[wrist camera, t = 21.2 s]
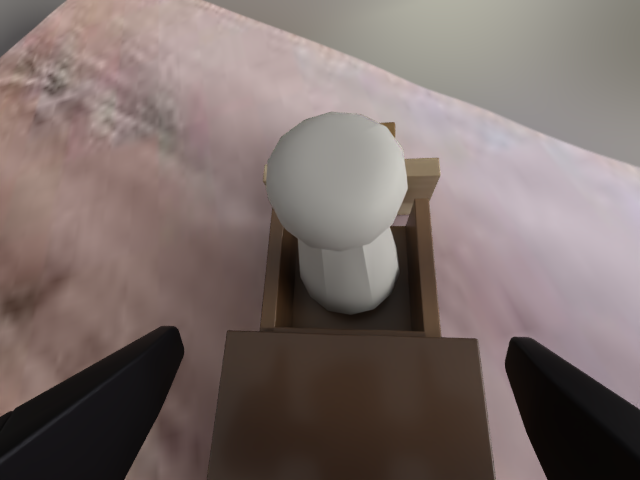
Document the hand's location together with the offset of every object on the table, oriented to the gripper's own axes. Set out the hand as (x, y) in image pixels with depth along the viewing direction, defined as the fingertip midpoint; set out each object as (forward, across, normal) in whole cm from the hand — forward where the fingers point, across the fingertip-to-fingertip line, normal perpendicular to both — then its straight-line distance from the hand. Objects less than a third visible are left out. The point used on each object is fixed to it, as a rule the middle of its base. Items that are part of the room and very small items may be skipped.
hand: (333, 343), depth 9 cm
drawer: (+14, 0, +3) cm, 14 cm away
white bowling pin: (+12, 0, +5) cm, 12 cm away
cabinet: (+6, 0, +13) cm, 14 cm away
